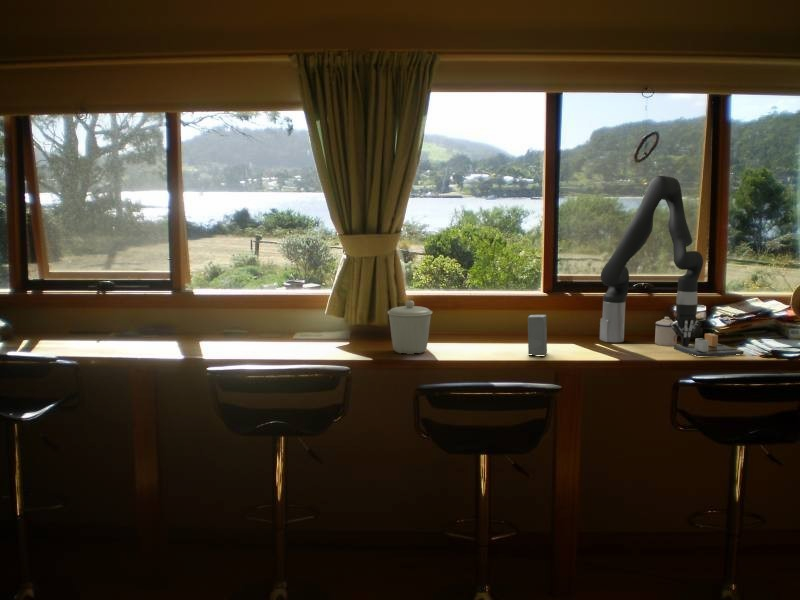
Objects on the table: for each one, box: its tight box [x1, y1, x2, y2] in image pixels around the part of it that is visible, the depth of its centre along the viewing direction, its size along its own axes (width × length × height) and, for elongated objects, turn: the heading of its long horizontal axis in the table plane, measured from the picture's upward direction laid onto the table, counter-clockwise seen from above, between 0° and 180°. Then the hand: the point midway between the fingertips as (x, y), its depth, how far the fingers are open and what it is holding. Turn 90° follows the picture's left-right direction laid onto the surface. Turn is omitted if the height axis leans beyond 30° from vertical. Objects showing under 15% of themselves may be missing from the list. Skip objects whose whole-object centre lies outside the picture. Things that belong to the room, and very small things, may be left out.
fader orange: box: [704, 332, 719, 346], centre depth 286 cm, size 3×5×5 cm, turn 13°
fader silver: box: [694, 337, 709, 352], centre depth 276 cm, size 3×5×5 cm, turn 13°
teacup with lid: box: [654, 316, 678, 347], centre depth 298 cm, size 12×9×12 cm
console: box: [673, 343, 745, 357], centre depth 282 cm, size 20×17×2 cm
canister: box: [386, 300, 433, 355], centre depth 281 cm, size 18×18×21 cm
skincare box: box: [527, 314, 548, 356], centre depth 276 cm, size 8×7×16 cm
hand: (684, 346), depth 274 cm, fingers closed
